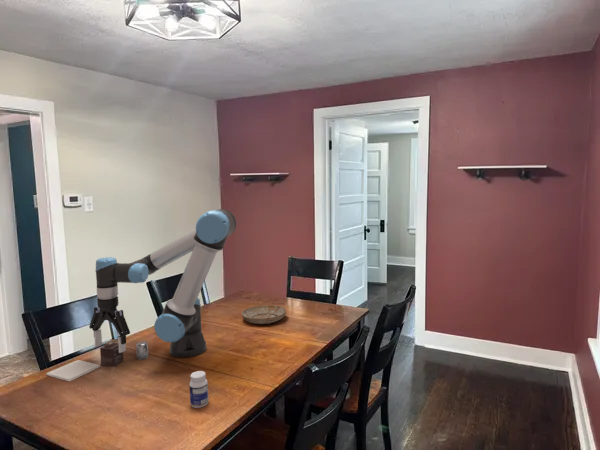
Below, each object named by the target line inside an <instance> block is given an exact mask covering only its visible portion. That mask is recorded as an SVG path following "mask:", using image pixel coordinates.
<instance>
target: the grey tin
mask: <svg viewBox="0 0 600 450" xmlns="http://www.w3.org/2000/svg"><path fill="white" fill-rule="evenodd" d="M135 347H136V359H137V360H139V361H140V360H141V361H142V360H146V359H148V358H149V348H148V347H149V346H148V341H147V340H146V341H145V340H143V341H138V342H136V344H135Z"/></svg>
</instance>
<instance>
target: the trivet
mask: <svg viewBox="0 0 600 450" xmlns="http://www.w3.org/2000/svg"><path fill="white" fill-rule="evenodd" d="M99 368H101V364H97V363H93V362H89V361H85V360H82V359H81V360H80V359H76V360H75V361H72V362H70V363H67V364H65V365H63V366H60V367H58V368H56V369H52V370H51V371H48V372H46V376H48V377H52V378H55V379H58V380H59V379H60V380H63V381H66V382H71V381H73V380H76V379H77V378H80V377H82V376H84V375H87V374H89V373H90V372H93V371H95V370H97V369H99Z"/></svg>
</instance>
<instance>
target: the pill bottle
mask: <svg viewBox="0 0 600 450" xmlns="http://www.w3.org/2000/svg"><path fill="white" fill-rule="evenodd" d="M206 376H207V375H206V372H205V371H203V370H197V371H194V372H192V373H191V374H190V382H189V384H188V385H189V400H190V401H189V403H190V406H191V407H192V408H194V409H195V408H196V409H200V408H204V407H205V406H207V405H208V403H209V401H210V400H209V398H210V397H209V386H208V385H209V384H208V379H207V378H206Z"/></svg>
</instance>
